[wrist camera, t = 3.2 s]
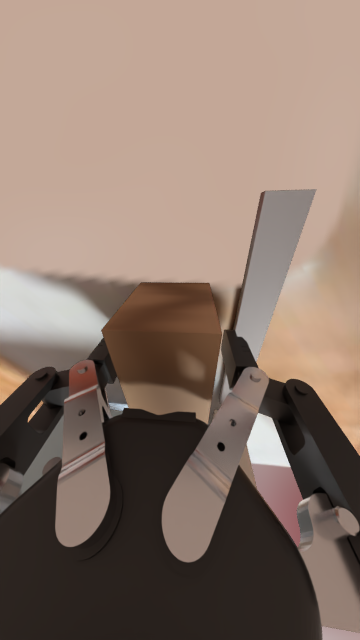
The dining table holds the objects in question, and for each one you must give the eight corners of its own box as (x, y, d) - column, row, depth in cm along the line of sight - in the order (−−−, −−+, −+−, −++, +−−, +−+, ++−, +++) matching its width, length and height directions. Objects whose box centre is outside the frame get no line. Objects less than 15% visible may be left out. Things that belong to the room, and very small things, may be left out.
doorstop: (209, 282, 11) (221, 333, 6) (202, 360, 16) (207, 428, 11) (141, 282, 12) (101, 330, 7) (152, 358, 16) (134, 423, 11)
